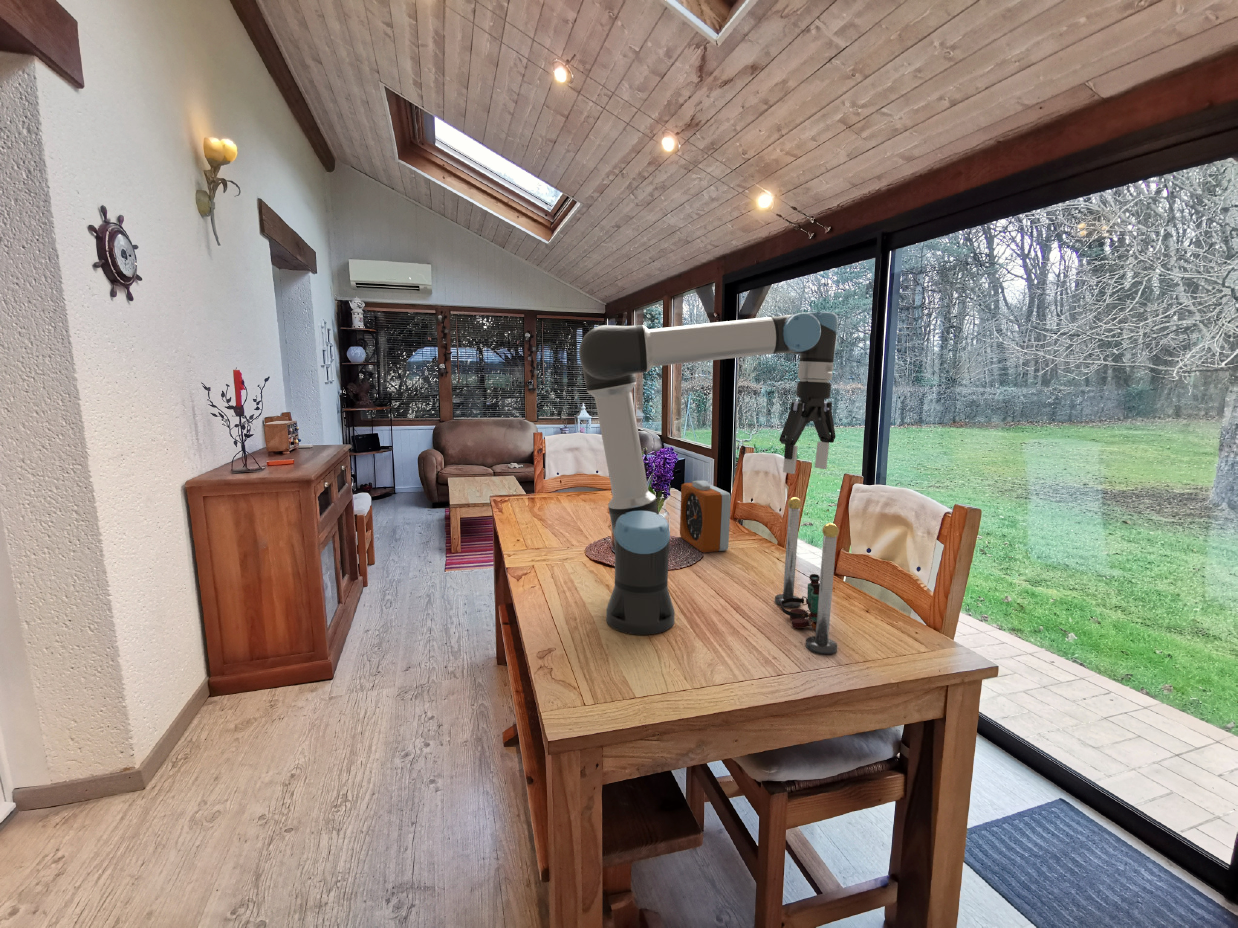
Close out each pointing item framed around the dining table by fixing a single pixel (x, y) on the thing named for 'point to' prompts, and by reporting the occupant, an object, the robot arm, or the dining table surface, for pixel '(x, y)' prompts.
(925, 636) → the dining table surface
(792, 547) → the post far
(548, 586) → the dining table surface
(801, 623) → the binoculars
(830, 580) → the post near
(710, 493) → the alarm clock
